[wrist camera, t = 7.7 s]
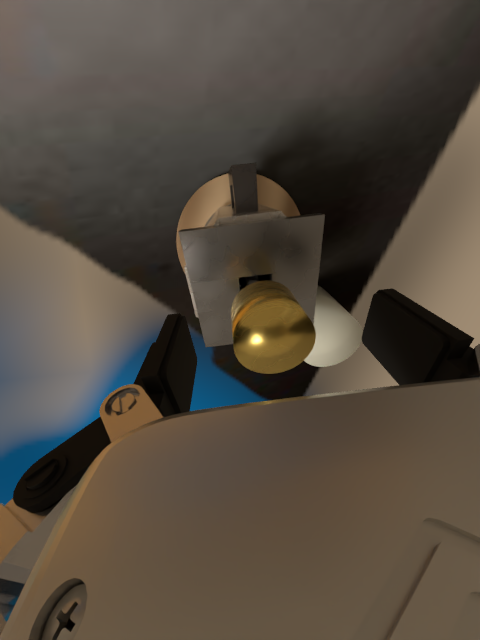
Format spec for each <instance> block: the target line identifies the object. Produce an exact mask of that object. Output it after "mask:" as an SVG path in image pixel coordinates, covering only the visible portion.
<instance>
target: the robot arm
mask: <svg viewBox="0 0 480 640" xmlns="http://www.w3.org/2000/svg"><path fill="white" fill-rule="evenodd" d="M473 339H474V338H473V337H471V336H469V335H468V334H466V333H464V332H463V331H461V330H459V329H458V328H456V327H455V326H453V325H451V324H450V323H448V322H446V321H445V320H443V319H442V318H440V317H438V316H437V315H435V314H433V313H432V312H430V311H428V310H427V309H425V308H424V307H422V306H420V305H418V304H417V303H415V302H414V301H412V300H411V299H409V298H407V297H406V296H404V295H402V294H401V293H399V292H397V291H396V290H394V289H384V290H379V291H377V292H376V293H375V294H374V295H373V298H372V301H371V305H370V309H369V312H368V316H367V320H366V323H365V327H364V330H363V334H362V342H363V344H364V345H365V346H366V347H367V348H368V350H369V351H370V352H371V353H372V354H373V355H374V357H375V358H376V359H377V360H378V361H379V362H380V363H381V364H382V366H383V367H384V368H385V369H386V370H387V371H388V372H389V373H390V375H391V376H392V377H393V378H394V379H395V380H396V382H397V383H398V384H399V386H390V387H382V388H372V389H363V390H355V391H346V392H338V393H329V394H320V395H312V396H303V397H295V398H287V399H279V400H270V401H262V402H255V403H246V404H238V405H231V406H224V407H217V408H209V409H202V410H196V411H190V404H191V398H192V391H193V385H194V379H195V372H196V366H197V356H196V353H195V349H194V346H193V342H192V339H191V335H190V332H189V328H188V325H187V321H186V318H185V316H181V314H180V313H179V314H170V315H168V316H167V318H166V320H165V322H164V324H163V327H162V329H161V331H160V334H159V336H158V338H157V340H156V342H154V343H153V344H152V345H151V347H150V349H149V351H148V353H147V356H146V358H145V360H144V362H143V364H142V366H141V369H140V371H139V373H138V375H137V377H136V380H135V382H134V384H130V385H126V386H122V387H120V388H118V389H116V390H115V391H113V392H112V393H111V394H109V395H108V396H107V397H106V398H105V400H104V401H103V403H102V404H101V407H100V416H101V417H99V418H98V419H96V420H95V421H93V422H92V423H91V424H89V425H88V426H86V427H85V428H84V429H82V430H81V431H79V432H78V433H76V434H75V435H73V436H72V437H71V438H69V439H68V440H66V441H65V442H63V443H62V444H60V445H59V446H58V447H57V448H55V449H53V450H52V451H50V452H49V453H48V454H46V455H45V456H43V457H42V458H41V459H39V460H38V461H37V462H36V463H34V464H33V465H32V466H31V467H30V468H29V469H28V470H27V471H26V472H25V473H24V475H23V476H22V477H21V479H20V480H19V482H18V483H17V486H16V488H15V490H14V494H13V498H12V500H10V501H9V502H8V503H7V504H6V505H4V504H0V640H480V344H478V345H477V346H476V347H475V348H474V349H473V348H471V347H470V344H471V343H472V341H473ZM189 411H190V412H189Z"/></svg>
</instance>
